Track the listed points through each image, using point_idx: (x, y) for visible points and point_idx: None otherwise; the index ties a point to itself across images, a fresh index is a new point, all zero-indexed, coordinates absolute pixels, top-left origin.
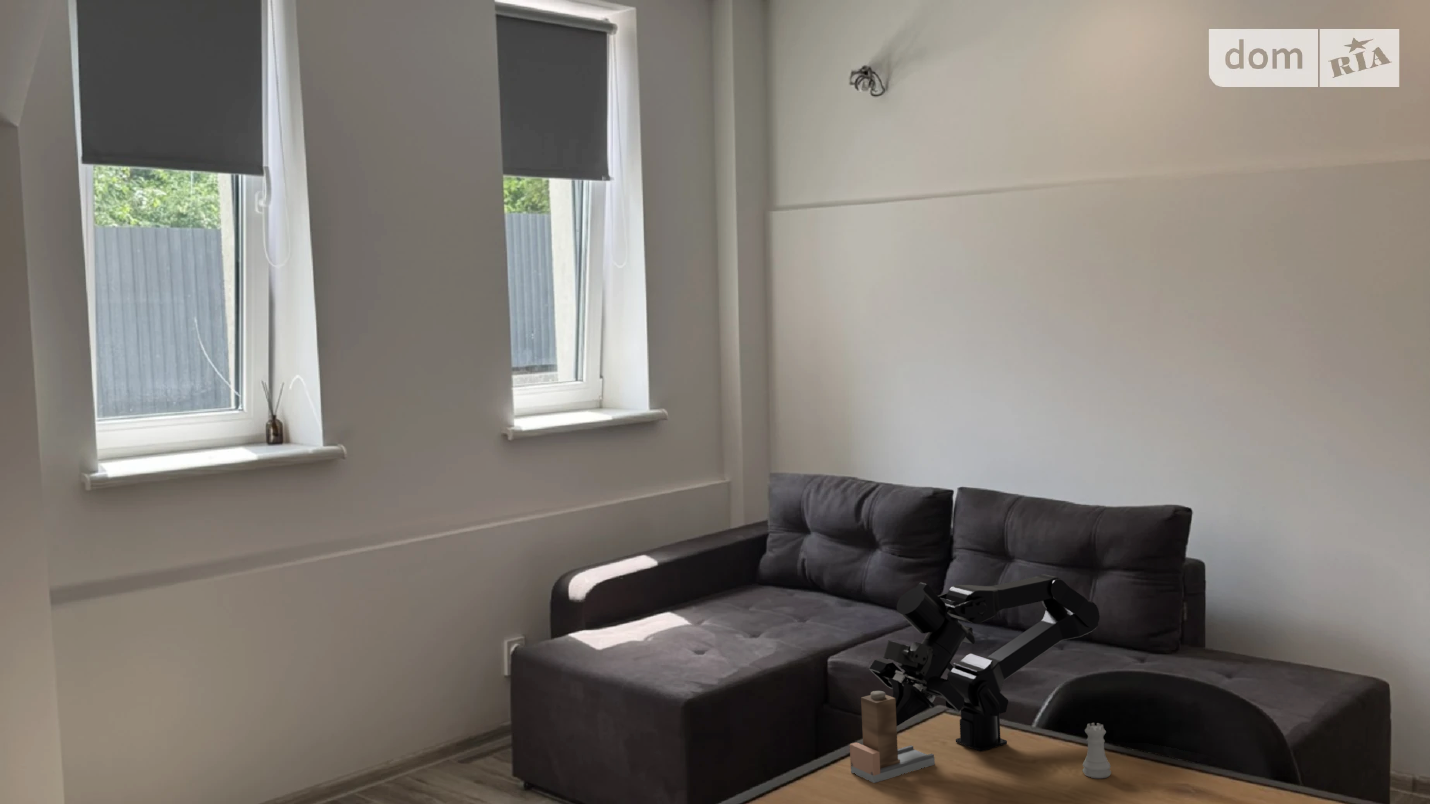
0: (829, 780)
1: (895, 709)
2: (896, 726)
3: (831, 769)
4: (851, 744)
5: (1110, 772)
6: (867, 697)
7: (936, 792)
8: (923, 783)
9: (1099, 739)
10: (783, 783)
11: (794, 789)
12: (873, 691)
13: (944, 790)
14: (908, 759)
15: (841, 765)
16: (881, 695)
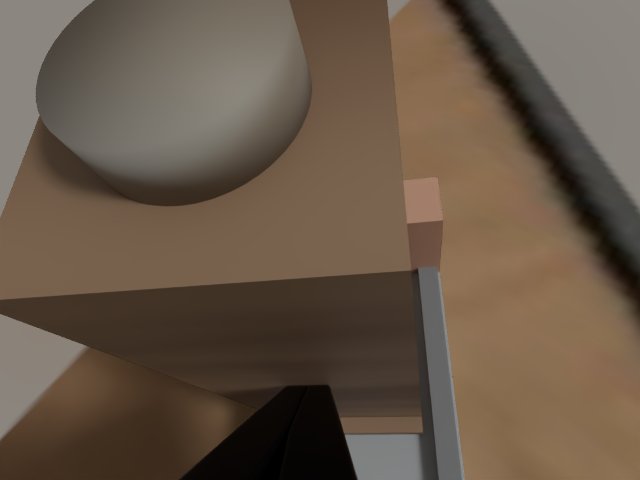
0: (411, 149)
1: (102, 347)
2: (196, 384)
3: (518, 205)
4: (424, 181)
5: None
6: (318, 7)
7: (45, 403)
8: (136, 428)
9: None
10: (478, 29)
11: (409, 39)
12: (284, 21)
13: (29, 446)
14: None
15: (544, 263)
16: (56, 56)
